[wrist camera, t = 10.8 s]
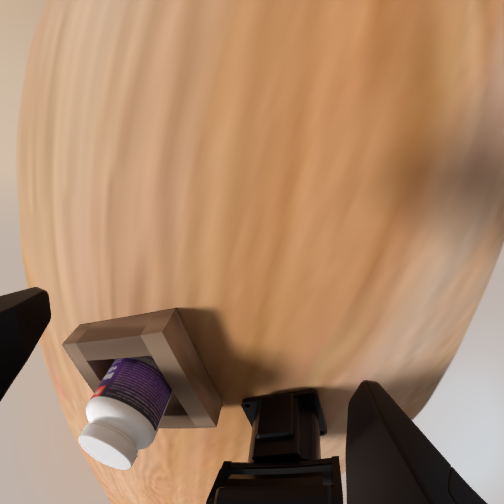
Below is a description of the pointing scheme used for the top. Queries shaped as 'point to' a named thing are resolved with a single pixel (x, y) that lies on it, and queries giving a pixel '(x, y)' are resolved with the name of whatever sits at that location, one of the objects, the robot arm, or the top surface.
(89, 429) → the pill bottle
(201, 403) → the socket
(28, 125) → the top surface
